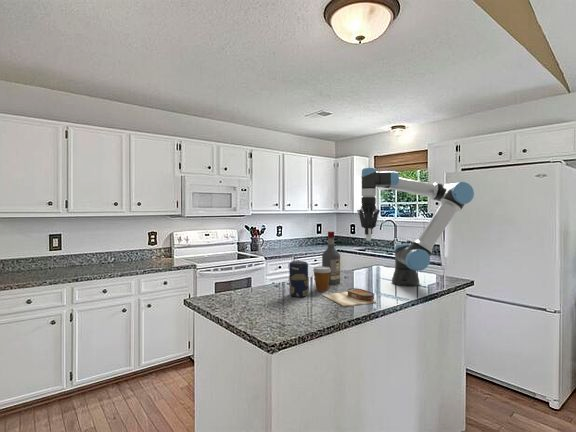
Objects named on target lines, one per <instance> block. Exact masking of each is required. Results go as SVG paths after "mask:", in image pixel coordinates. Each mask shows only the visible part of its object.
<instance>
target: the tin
mask: <svg viewBox="0 0 576 432" xmlns="http://www.w3.org/2000/svg"><path fill="white" fill-rule="evenodd" d="M347 292H348V295H349V296H351V297H353V298H356V299H359V300H363V301H368V300H373V301H374V298H375V293H374V292H372V291H368V290H366V289H362V288H356V287H354V288H348V289H347Z"/></svg>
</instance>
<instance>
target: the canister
mask: <svg viewBox="0 0 576 432" xmlns="http://www.w3.org/2000/svg"><path fill="white" fill-rule="evenodd" d="M308 263H309V262H307V261H304V260H303V261H302V260H299V259H298V260H295V261H290V262H289V267H288V268H289V271H288V274H289V284H288V285H289V288H288V289H289V295H290V296H292V297H298V298H299V297H306V296H308V295H309V264H308Z"/></svg>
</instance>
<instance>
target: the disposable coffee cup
mask: <svg viewBox="0 0 576 432" xmlns="http://www.w3.org/2000/svg"><path fill="white" fill-rule="evenodd" d="M312 271H313V275H314V282H315V291H317V292H327V291H328V290H329V285H330V284H329V276H330V271H331V270H330V267H324V266H322V265H321V266H320V265H319V266H314V267H313V269H312Z"/></svg>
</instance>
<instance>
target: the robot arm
mask: <svg viewBox="0 0 576 432" xmlns="http://www.w3.org/2000/svg"><path fill="white" fill-rule="evenodd" d="M360 177H361V196H362V197H361V207H360V208H359V209H357V211H356V212H357V213H358V215H359V220H360V221H359V222H360V225H361V228H363V229H364V234H365V241H366V242H371V241H372V234H373V229H374V228H376V226H377V222H378V218H379V213H380V211H381V210H380V209H378V208H377V206H376V203H377V197H376V196H377V188H383V189H389V190H392V191H397V192H404V193H408V194H413V195H417V196H422V197H423V196H424V197H427V198H430V200H433V201H434V200H435V201H437V202H440V205H439V206H438V208H437V210H436V211H435V213H433V216H432V217H431V219H430V220H429V221H428V223H427V224H426V226H425V227H424V229H423V230H422V232H421V233H420V235H419V236H418V238H417V239H415V240H413V241H412V242H411V243H397V244H395V247H394V251H395V252H394V263H395V264H394V272H393V276H392V277H391V283H392V284H394V285H397V286H400V287H401V286H403V287H415V286H416V287H417V286H419V285H420V278H419V275H418V272H420V271H423V270H426V269H427V268H428V267H429V265H430V263H431V256H432V254H433V250H432V249H433V247H434V246H435V244H436V243H437V241H438V240H439V238H440V237H441V235H442V234H443V232H444V231H445V230H446V227H447V226H448V224H450V221H451V220H452V219H453V217H454V216H455V215H456V213H457V212H460V211H461V212H462V209H463V208H464V206H465V205H466V204H469V203H470V202H472V200H473V199H474V196H475V191H474V188H473V186H472V185H471V184H470V183H469V182H465V181H456V182H450V183H449V182H448V183H438V182H434V183H428V182H425V181H419V180H415V179H410V178H409V179H408V178H404V177H400V175H399V172H397V171H392V170H391V171H377V169H376V167H364V168H362V169H361V176H360Z"/></svg>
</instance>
